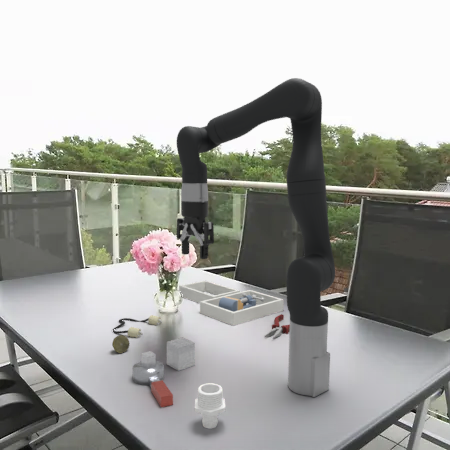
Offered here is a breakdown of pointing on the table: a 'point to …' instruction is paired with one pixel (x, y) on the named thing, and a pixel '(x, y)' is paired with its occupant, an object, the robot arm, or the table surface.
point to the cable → (136, 331)
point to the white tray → (244, 315)
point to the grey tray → (197, 290)
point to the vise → (238, 302)
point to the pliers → (278, 327)
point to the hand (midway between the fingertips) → (194, 256)
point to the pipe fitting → (210, 404)
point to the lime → (120, 343)
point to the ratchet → (153, 378)
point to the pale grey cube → (180, 353)
